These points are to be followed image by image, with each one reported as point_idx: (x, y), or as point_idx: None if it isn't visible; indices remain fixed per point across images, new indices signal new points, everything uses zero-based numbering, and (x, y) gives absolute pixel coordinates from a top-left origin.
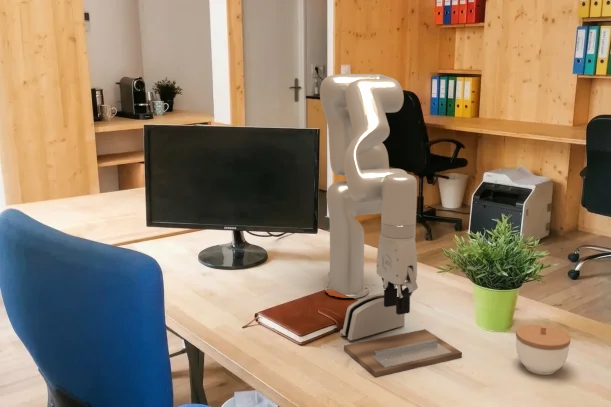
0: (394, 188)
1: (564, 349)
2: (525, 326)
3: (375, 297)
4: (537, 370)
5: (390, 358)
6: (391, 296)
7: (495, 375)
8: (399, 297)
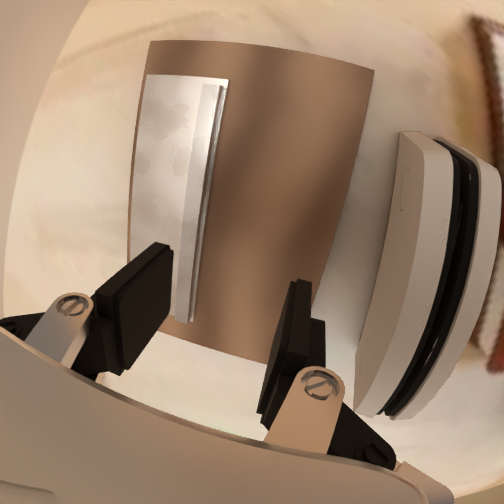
0: None
1: None
2: None
3: (442, 342)
4: None
5: (176, 124)
6: (273, 352)
7: (62, 290)
8: (84, 296)
